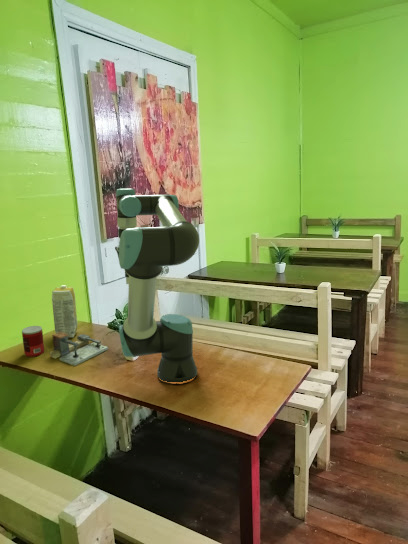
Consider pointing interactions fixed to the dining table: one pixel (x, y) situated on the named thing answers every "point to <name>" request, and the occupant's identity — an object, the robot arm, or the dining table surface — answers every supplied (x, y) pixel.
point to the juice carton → (64, 310)
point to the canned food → (33, 341)
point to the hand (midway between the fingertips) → (129, 283)
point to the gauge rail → (81, 340)
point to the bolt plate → (83, 354)
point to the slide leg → (63, 343)
